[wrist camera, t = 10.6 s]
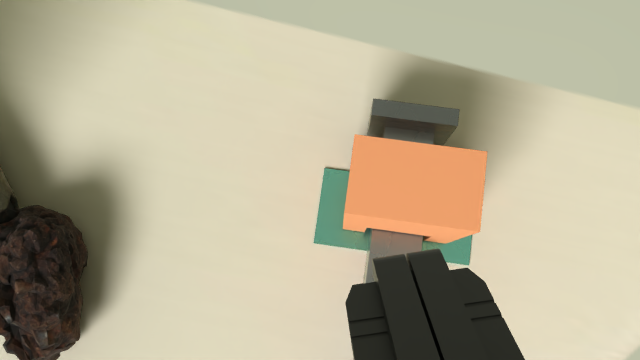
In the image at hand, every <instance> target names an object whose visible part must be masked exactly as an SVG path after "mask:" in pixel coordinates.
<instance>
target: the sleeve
mask: <svg viewBox="0 0 640 360" xmlns="http://www.w3.org/2000/svg"><path fill="white" fill-rule="evenodd" d="M486 161H487V152H486V151H479V150H471V149H463V148H456V147H448V146H440V145H432V144H425V143H417V142H409V141H402V140H394V139H386V138H379V137H371V136H363V135H356V134H355V136H354V144H353V151H352V158H351V166H350V173H349V180H348V188H347V195H346V202H345V210H344V220H343V229H345V230H352V231H359V232H365V230H366V228H373V229H380V230H387V231H394V232H401V233H409V234H416V235H423V236H424V241H430V242H437V243H444V244H446V243H449V242H452V241H455V240H458V239H461V238H463V237H466V236H469V235H472V234H475V233H478V232H480V226H481V215H482V204H483V193H484V182H485V171H486Z"/></svg>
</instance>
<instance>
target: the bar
mask: <svg viewBox="0 0 640 360" xmlns="http://www.w3.org/2000/svg"><path fill="white" fill-rule="evenodd" d="M458 118H459V109H452V108H444V107H436V106H428V105H420V104H412V103H404V102H396V101H388V100H380V99H373V103H372V108H371V114H370V119H369V125H368V132H367V136H371V137H379V138H386V139H394V140H402V141H409V142H417V143H425V144H432V145H440V146H443V144H444V143H445V142H446V141H447V139H448V138H449V137H450V135H451V134H452V133H453V131H454V130H455V129H456V128H457V126H458ZM349 173H350V171H342V170H335V169H327V168H325V169H324V176H323V183H322V190H321V197H320V204H319V211H318V217H317V224H316V231H315V238H314V243H316V244H323V245H330V246H337V247H344V248H351V249H358V250H365V251H367V258H366V266H365V274H364V282H363V283H370V282H374V278H373V269H372V258H379V257H386V256H392V255H399V254H404V255H405V256H406V253H411V252H418V251H425V250H431V249H440V251H441V252H442V255H443V257H444V259H445V262H450V263H457V264H464V265H469V260H470V250H471V239H472V235H469V236H466V237H463V238H461V239H458V240H455V241H452V242H449V243H446V244H444V243H437V242H430V241H424V236H423V235H416V234H409V233H401V232H394V231H387V230H380V229H373V228H366V230H365V232H359V231H352V230H345V229H343V220H344V210H345V202H346V195H347V188H348V180H349Z"/></svg>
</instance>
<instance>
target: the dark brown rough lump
mask: <svg viewBox="0 0 640 360" xmlns="http://www.w3.org/2000/svg"><path fill="white" fill-rule="evenodd" d="M86 265H87V249H86V246H85V244H84V242H83V241H82V233H81V232H80V231H79V230H78V229H77V228H76V227H75V226H74V224H73V222H72V221H71V219H70V218H69V217H68V216H66V215H63V214H60V213H58V212H55V211H53V210H50V209H46V208H44V207H42V206H39V205H35V206H28V207H24V208H22V209H19V208H18V204H17V199H16V197H15V195H14V193H13V191H12V189H11V187H10V185H9V183H8V181H7V179H6V177H5V175H4V173H3V171H2V169H1V167H0V335H2V336H4V337H5V340H6V341H5V342H4V344H3V347H4V348H5V350H6V352H7V353H10V354H15V355H16V356H17V357H18V358H19V360H57V359H58V358H59V356H60V352H62V351H65V350H68V349H69V348H70V347H72V346H73V345H74V344H75V341H78V340H79V338H80V327H79V324H80V317H81V308H82V304H83V297H82V295H81V289H80V287H79V285H78V284H79V280H80V276H81V274H82V272H83V267H85V266H86Z"/></svg>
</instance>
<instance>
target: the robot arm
mask: <svg viewBox="0 0 640 360" xmlns="http://www.w3.org/2000/svg"><path fill="white" fill-rule="evenodd" d="M372 269H373V278H374V282H370V283H363V284H356V285H352V288H351V290H350V293H349V295H348V298H347V300H346V309H347V316H348V323H349V329H350V336H351V343H352V349H353V356H354V360H525V359H524V357H523V355H522V353H521V351H520V349H519V347H518V345H517V344H516V342H515V340H514V338H513V336H512V334H511V332H510V330H509V328H508V326H507V324H506V322H505V320H504V318H502V315H501V312H500V310H499V309H498V307H497V305H496V303H494V299H493V297H492V295H491V293H490V291H489V289H488V287H487V285H486V283H485V282H484V281H483V280H482V279H481V278H479V277H478V276H477V275H476V274H475V273H473V272H472V271H471V270H470V269H468V268H462V269H456V270H449V268H448V266H447V264H446V262H445V259H444V257H443V255H442V252H441V251H440V249H431V250H425V251H418V252H411V253H406V256H405V255H404V254H399V255H392V256H386V257H379V258H372Z"/></svg>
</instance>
